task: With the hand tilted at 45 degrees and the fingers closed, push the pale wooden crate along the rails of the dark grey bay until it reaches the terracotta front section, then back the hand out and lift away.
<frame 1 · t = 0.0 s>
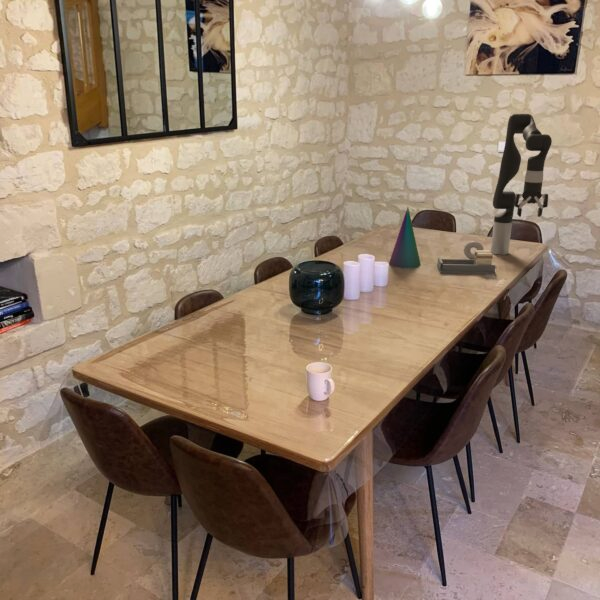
hand: (529, 216, 268), 29 cm above the table, tool pointing down, fingers open, 8 cm apart
crate: (482, 260, 288), point 5 cm above the table, slide at 0.0 cm
decorative cone: (404, 264, 301), on the table
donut: (472, 260, 307), on the table
bay: (465, 269, 290), on the table
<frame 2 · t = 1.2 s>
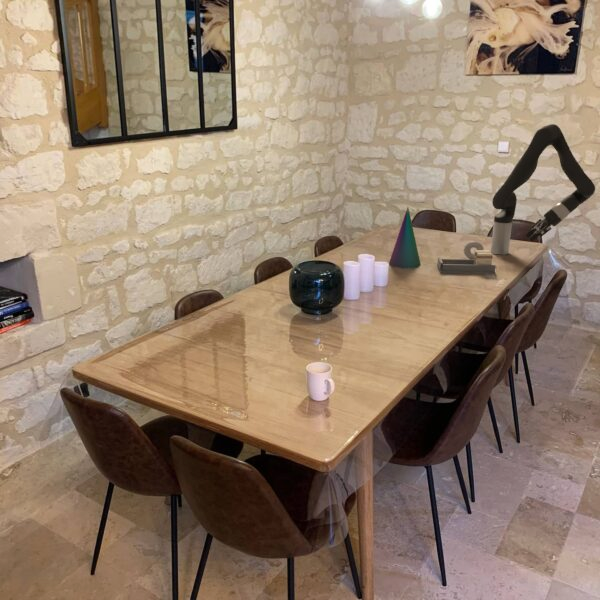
hand: (528, 238, 282), 16 cm above the table, tool tilted 45°, fingers open, 6 cm apart
nothing on the table moved.
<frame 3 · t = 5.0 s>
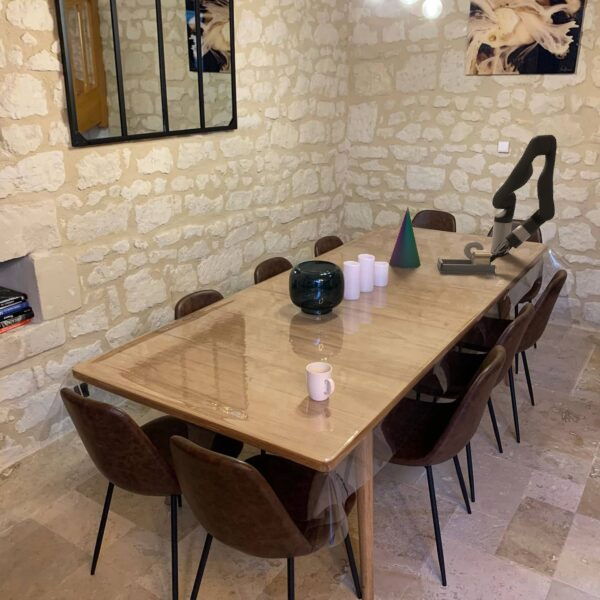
hand: (489, 260, 288), 5 cm above the table, tool tilted 45°, fingers closed
crate: (480, 259, 288), point 5 cm above the table, slide at 1.0 cm, touching gripper
everything else where it was.
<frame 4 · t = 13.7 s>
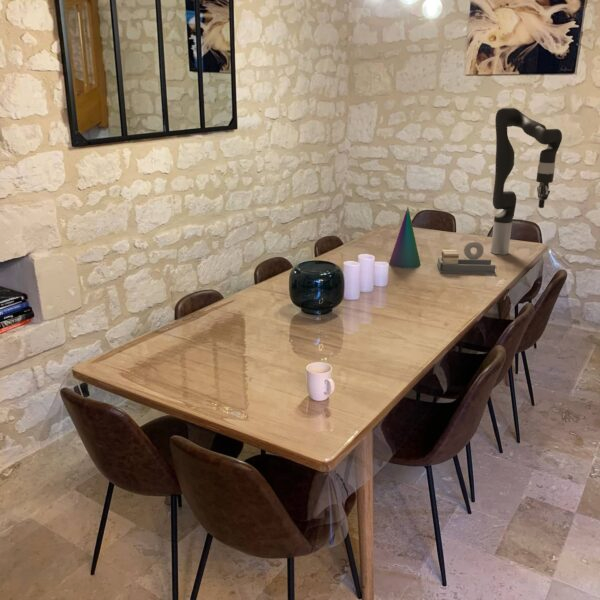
hand: (541, 207, 288), 29 cm above the table, tool pointing down, fingers closed
crate: (449, 259, 289), point 5 cm above the table, slide at 16.0 cm
everything else where it was.
at the end: crate slide at 16.0 cm; the gripper is holding nothing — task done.
